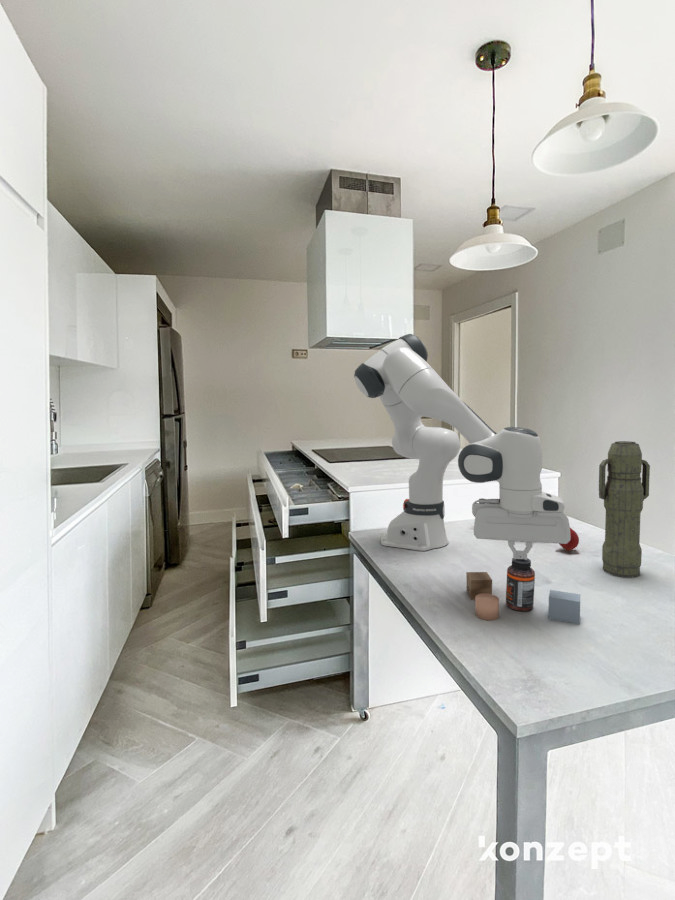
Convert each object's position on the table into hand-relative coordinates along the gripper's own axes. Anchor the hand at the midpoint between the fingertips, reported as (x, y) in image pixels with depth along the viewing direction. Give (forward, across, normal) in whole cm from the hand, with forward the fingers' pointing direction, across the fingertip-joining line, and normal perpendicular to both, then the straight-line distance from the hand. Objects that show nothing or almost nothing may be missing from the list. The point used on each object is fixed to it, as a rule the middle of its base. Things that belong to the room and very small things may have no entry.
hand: (520, 559), depth 103 cm
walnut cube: (+12, -9, +4) cm, 15 cm away
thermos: (+11, +27, +28) cm, 41 cm away
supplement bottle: (+12, 0, 0) cm, 12 cm away
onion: (+11, +16, +42) cm, 47 cm away
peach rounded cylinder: (+12, -7, -6) cm, 15 cm away
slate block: (+12, +9, -2) cm, 15 cm away
